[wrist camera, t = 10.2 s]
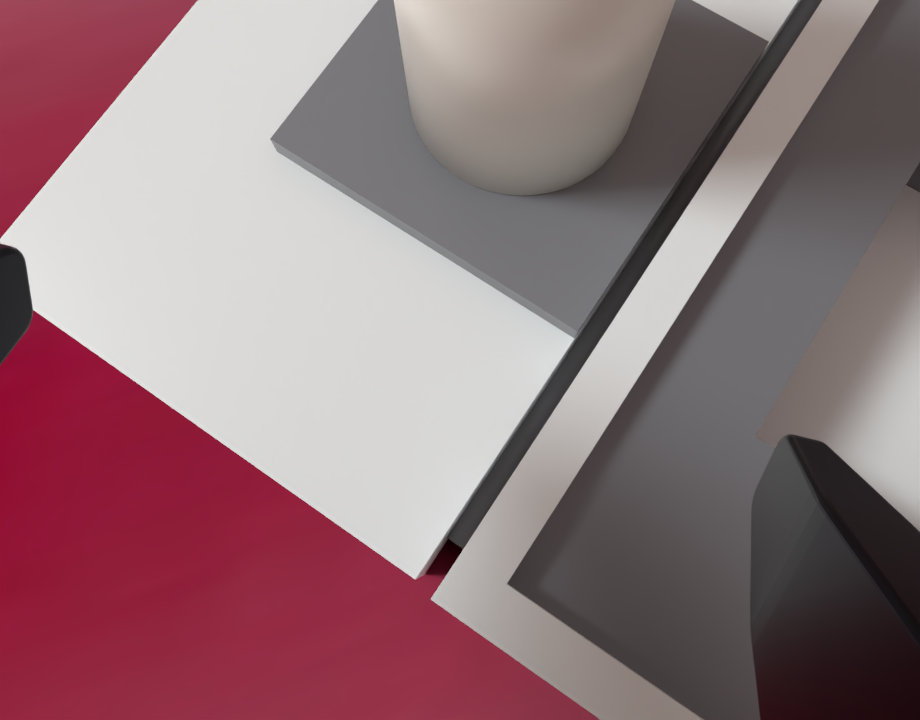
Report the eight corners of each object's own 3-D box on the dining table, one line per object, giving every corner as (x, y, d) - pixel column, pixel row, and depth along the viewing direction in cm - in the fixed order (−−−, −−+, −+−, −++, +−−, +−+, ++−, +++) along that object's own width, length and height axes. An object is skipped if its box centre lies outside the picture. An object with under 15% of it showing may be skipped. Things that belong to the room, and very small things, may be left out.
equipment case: (1054, 1016, 16) (1233, 1168, 12) (36, 301, 20) (-71, 244, 16) (1410, 239, 20) (1641, 163, 16) (473, -241, 24) (470, -395, 20)
